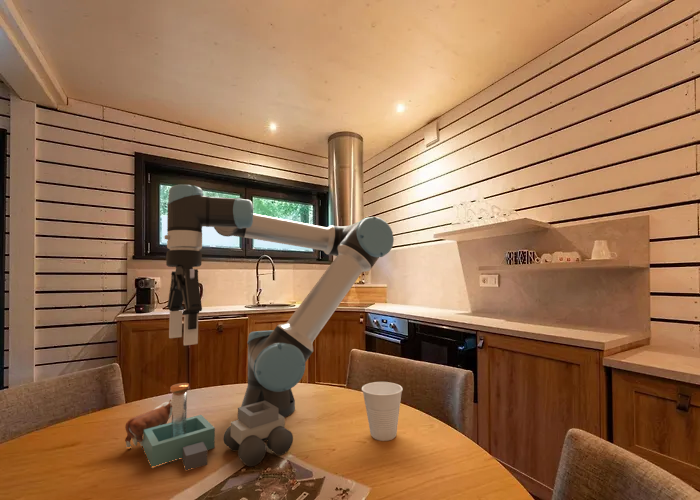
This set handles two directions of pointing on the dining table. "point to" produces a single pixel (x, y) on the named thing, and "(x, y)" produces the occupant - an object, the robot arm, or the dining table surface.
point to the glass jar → (179, 409)
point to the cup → (382, 408)
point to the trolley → (258, 432)
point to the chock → (194, 455)
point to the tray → (176, 440)
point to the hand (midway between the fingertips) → (182, 341)
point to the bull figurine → (147, 422)
